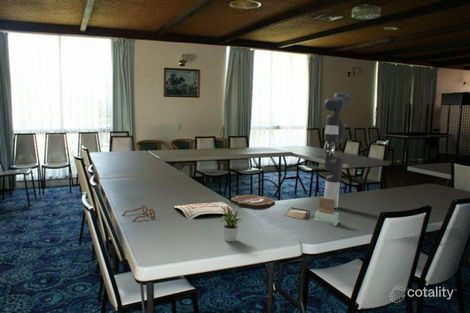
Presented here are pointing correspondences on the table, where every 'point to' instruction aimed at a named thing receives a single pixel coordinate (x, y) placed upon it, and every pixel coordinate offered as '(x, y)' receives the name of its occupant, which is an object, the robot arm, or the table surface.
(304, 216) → the offcut lower
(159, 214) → the table surface
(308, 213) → the offcut rack
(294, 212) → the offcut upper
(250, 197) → the decorative plaque
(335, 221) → the slotted stand
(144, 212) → the glasses
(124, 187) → the table surface
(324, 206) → the walnut sheet
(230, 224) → the house plant
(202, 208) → the poster
